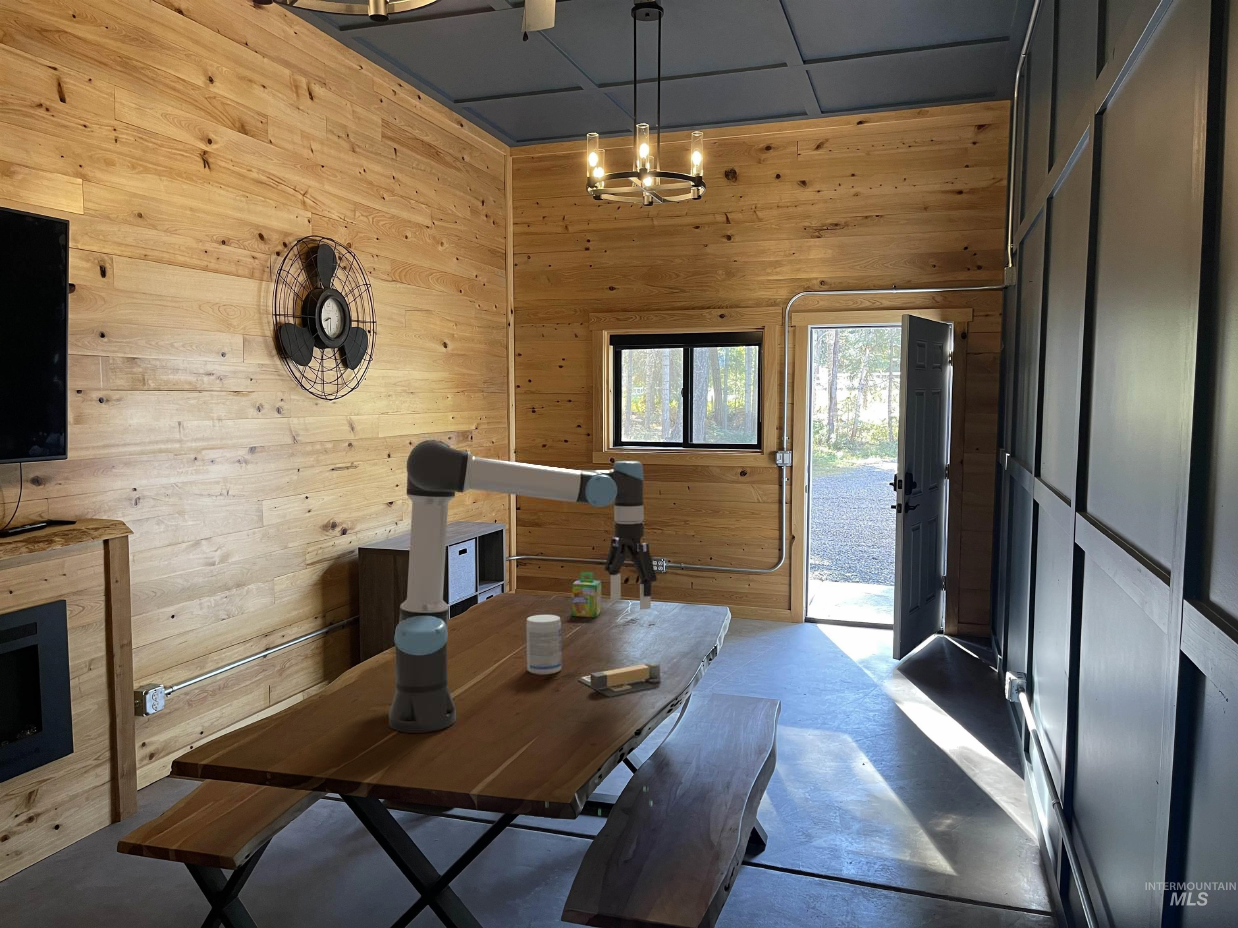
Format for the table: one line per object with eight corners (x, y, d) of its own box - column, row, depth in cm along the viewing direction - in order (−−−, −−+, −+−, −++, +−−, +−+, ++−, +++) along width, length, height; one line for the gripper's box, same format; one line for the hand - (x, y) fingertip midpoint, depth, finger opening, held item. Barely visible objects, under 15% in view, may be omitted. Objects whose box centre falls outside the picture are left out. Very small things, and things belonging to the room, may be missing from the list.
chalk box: (571, 616, 304) (570, 574, 303) (576, 610, 313) (576, 570, 312) (597, 617, 303) (596, 575, 302) (601, 611, 312) (601, 570, 311)
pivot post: (650, 684, 228) (650, 680, 228) (640, 680, 232) (640, 675, 232) (663, 681, 231) (663, 677, 231) (654, 677, 234) (654, 673, 234)
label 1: (588, 683, 229) (588, 680, 229) (581, 679, 233) (581, 676, 233) (604, 680, 232) (604, 677, 232) (597, 676, 235) (597, 673, 235)
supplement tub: (567, 671, 240) (567, 619, 239) (537, 677, 235) (536, 623, 234) (550, 663, 248) (550, 612, 247) (520, 668, 243) (520, 616, 242)
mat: (608, 697, 219) (608, 695, 219) (578, 680, 232) (578, 678, 232) (655, 687, 226) (655, 686, 226) (622, 672, 239) (622, 670, 239)
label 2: (614, 692, 222) (614, 689, 222) (606, 688, 225) (606, 685, 225) (631, 689, 224) (631, 686, 224) (623, 685, 228) (623, 682, 228)
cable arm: (597, 689, 220) (597, 676, 220) (589, 685, 224) (589, 672, 223) (662, 676, 231) (662, 664, 231) (654, 672, 234) (654, 661, 234)
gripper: (670, 525, 214) (671, 610, 215) (614, 515, 235) (615, 593, 236) (645, 528, 210) (646, 615, 211) (591, 518, 231) (592, 597, 232)
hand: (630, 604), depth 223 cm, fingers open, 13 cm apart
